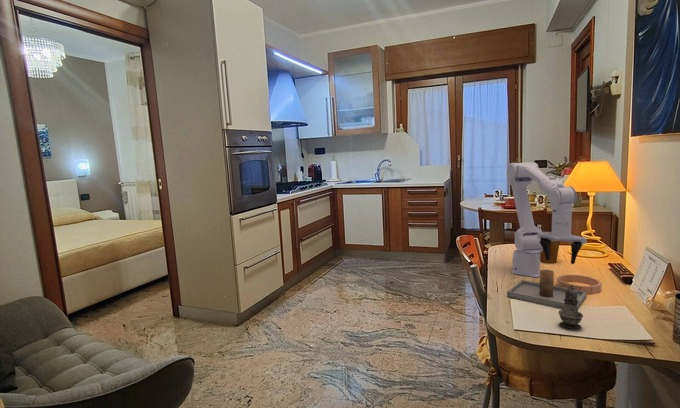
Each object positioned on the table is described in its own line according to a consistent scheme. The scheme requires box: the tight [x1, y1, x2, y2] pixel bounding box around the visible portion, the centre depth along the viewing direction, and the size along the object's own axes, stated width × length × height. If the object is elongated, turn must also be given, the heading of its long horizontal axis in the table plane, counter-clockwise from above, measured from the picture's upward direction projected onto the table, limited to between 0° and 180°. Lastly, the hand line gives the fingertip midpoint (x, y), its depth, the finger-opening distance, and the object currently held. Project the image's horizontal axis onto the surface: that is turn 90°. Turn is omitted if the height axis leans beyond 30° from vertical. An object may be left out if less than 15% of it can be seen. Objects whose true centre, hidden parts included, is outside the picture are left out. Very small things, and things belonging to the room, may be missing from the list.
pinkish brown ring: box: [556, 274, 603, 295], centre depth 133 cm, size 13×13×2 cm
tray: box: [506, 279, 587, 311], centre depth 126 cm, size 20×14×2 cm
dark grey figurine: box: [558, 284, 584, 331], centre depth 105 cm, size 6×6×12 cm
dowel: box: [539, 269, 555, 297], centre depth 125 cm, size 4×4×8 cm
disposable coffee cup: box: [540, 231, 561, 264], centre depth 163 cm, size 10×10×12 cm
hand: (560, 261), depth 131 cm, fingers open, 7 cm apart
